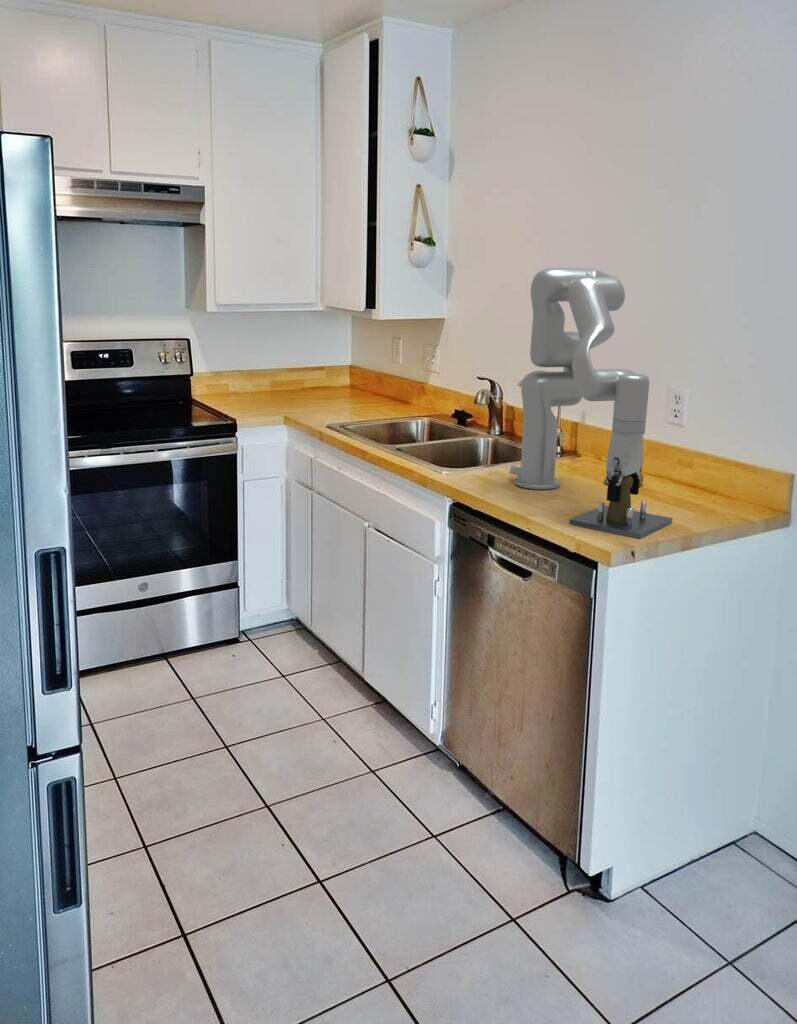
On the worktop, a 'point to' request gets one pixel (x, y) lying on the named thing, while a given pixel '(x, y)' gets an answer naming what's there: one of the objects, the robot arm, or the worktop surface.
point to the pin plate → (633, 527)
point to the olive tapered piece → (621, 502)
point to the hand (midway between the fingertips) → (622, 497)
